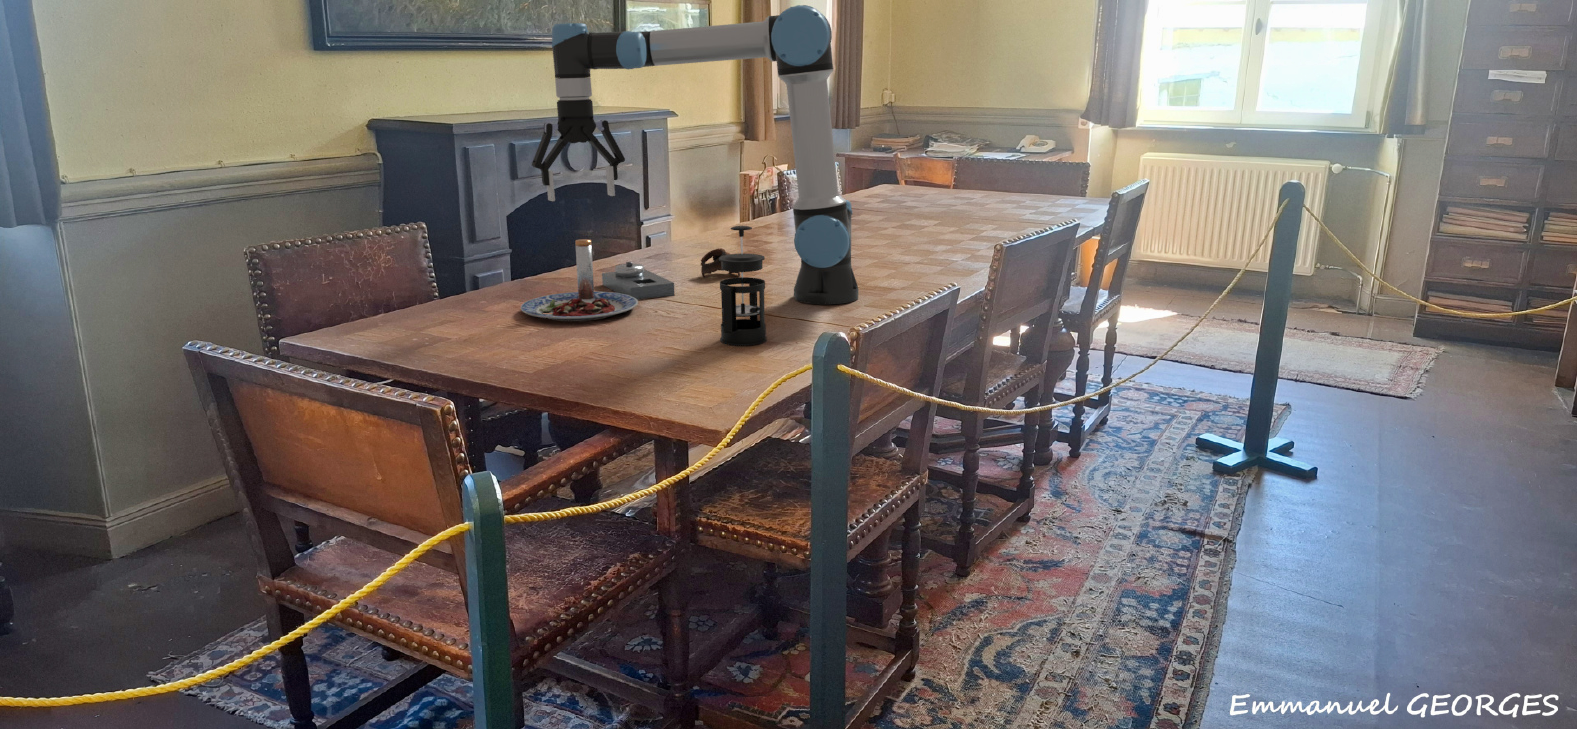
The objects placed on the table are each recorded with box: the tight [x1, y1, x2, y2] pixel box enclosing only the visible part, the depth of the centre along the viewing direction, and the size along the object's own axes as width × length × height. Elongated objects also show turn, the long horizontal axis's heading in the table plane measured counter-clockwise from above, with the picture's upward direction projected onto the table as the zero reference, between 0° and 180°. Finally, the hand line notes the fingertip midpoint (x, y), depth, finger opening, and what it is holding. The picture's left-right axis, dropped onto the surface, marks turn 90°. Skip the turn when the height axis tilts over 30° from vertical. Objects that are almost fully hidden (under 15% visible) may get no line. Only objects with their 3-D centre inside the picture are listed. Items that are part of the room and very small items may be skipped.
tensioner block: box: [601, 261, 675, 301], centre depth 263 cm, size 20×11×6 cm, turn 28°
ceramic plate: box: [520, 291, 639, 322], centre depth 242 cm, size 26×26×3 cm
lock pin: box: [575, 238, 595, 299], centre depth 243 cm, size 4×4×13 cm
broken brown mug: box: [700, 247, 741, 278], centre depth 279 cm, size 12×10×8 cm
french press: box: [719, 225, 768, 347], centre depth 214 cm, size 12×9×23 cm
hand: (581, 198), depth 238 cm, fingers open, 13 cm apart
